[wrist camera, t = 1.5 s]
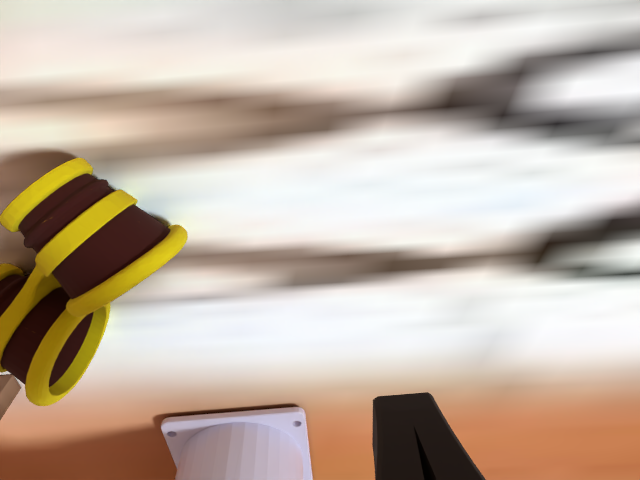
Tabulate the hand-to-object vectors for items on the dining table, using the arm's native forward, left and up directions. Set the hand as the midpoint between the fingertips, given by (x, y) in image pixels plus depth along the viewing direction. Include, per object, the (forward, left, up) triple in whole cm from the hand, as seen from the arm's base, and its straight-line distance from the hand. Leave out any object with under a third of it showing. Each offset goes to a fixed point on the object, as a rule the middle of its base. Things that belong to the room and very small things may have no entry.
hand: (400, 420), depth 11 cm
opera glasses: (0, +12, -10) cm, 15 cm away
